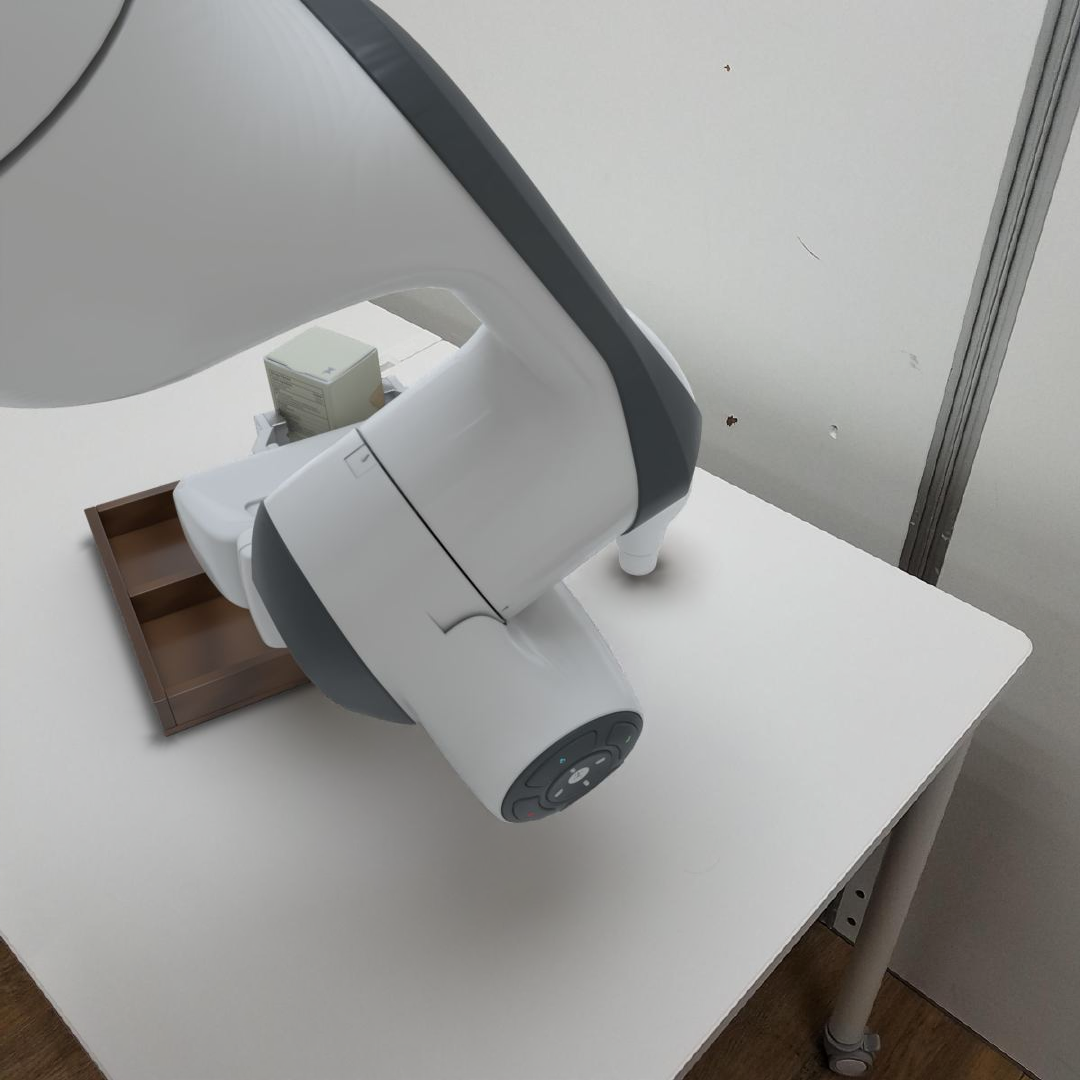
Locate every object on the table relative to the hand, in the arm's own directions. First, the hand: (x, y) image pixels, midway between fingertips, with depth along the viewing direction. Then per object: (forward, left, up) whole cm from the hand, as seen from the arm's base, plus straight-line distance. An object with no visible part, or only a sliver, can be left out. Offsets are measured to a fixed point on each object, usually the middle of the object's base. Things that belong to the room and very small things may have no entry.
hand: (325, 404), depth 65 cm
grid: (-5, +3, -15) cm, 16 cm away
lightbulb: (+17, -8, -15) cm, 24 cm away
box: (0, -1, -7) cm, 7 cm away
